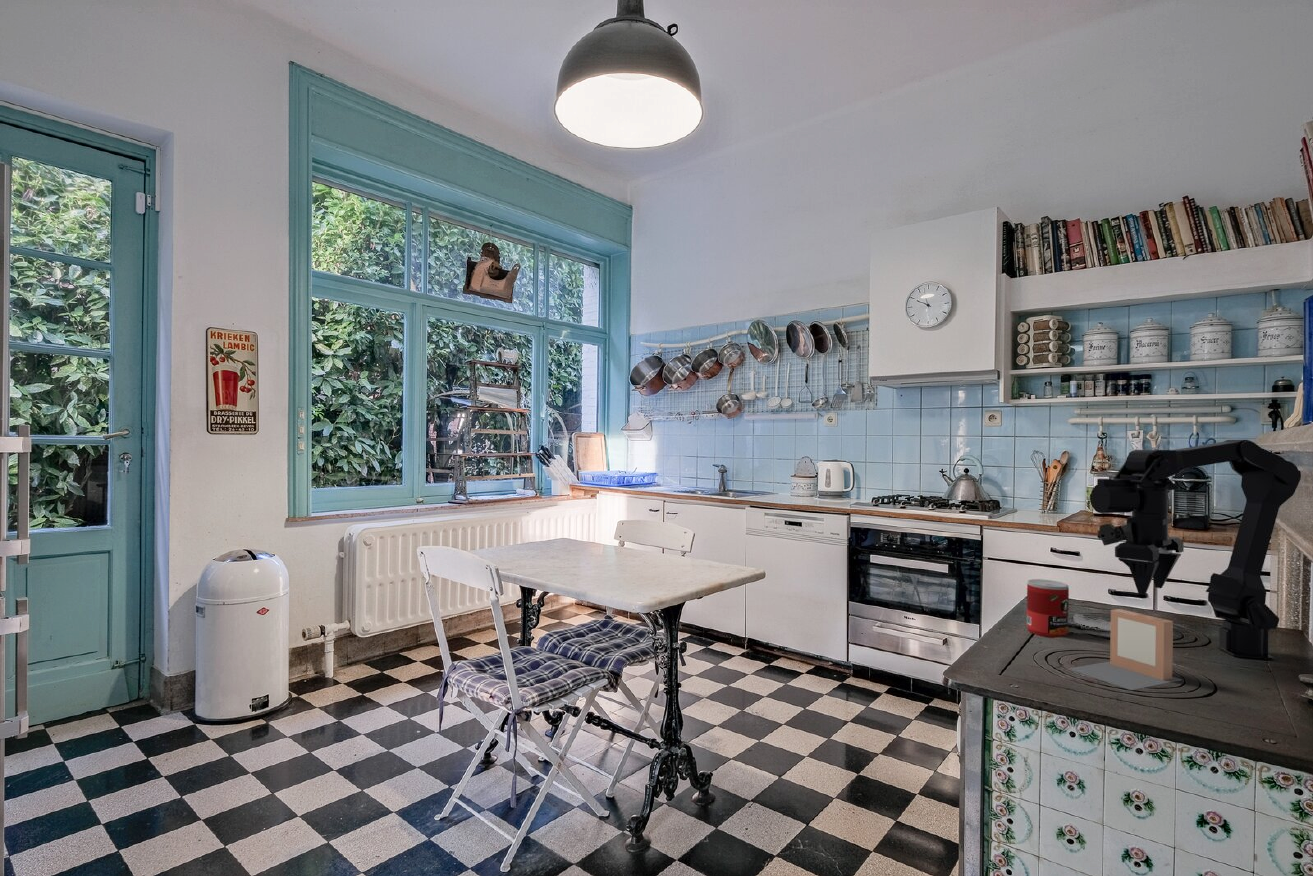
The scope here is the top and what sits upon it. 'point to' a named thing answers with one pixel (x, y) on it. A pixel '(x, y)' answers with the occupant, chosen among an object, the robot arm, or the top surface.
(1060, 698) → the top surface
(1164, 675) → the terracotta tile
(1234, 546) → the robot arm
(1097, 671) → the rubber mat
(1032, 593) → the canned food
